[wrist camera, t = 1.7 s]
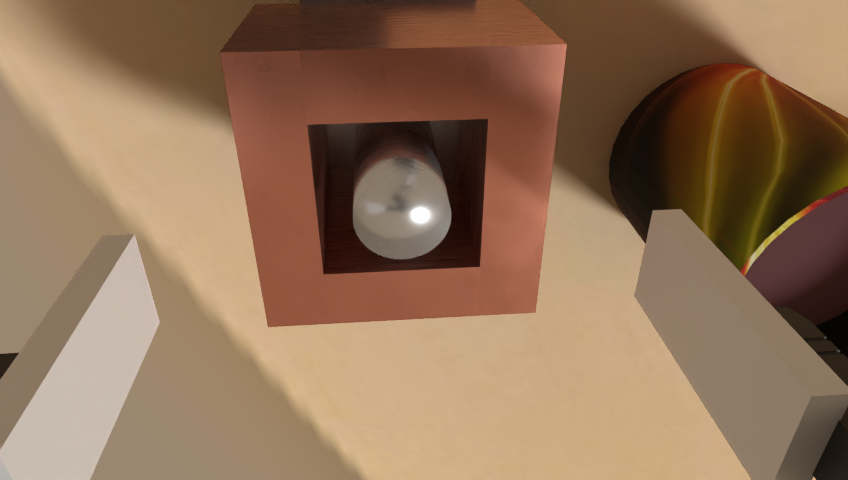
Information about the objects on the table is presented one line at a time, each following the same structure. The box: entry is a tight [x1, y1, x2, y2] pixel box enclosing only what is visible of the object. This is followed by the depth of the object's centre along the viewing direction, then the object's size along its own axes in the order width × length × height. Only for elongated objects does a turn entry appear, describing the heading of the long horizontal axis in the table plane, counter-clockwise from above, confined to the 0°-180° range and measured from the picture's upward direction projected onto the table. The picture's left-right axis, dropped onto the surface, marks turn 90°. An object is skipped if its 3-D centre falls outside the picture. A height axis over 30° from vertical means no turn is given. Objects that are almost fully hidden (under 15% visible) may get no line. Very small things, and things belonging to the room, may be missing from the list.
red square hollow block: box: [220, 0, 567, 327], centre depth 21 cm, size 9×9×6 cm
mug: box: [609, 63, 848, 358], centre depth 27 cm, size 10×14×12 cm
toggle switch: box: [300, 0, 475, 259], centre depth 23 cm, size 10×6×13 cm, turn 0°
